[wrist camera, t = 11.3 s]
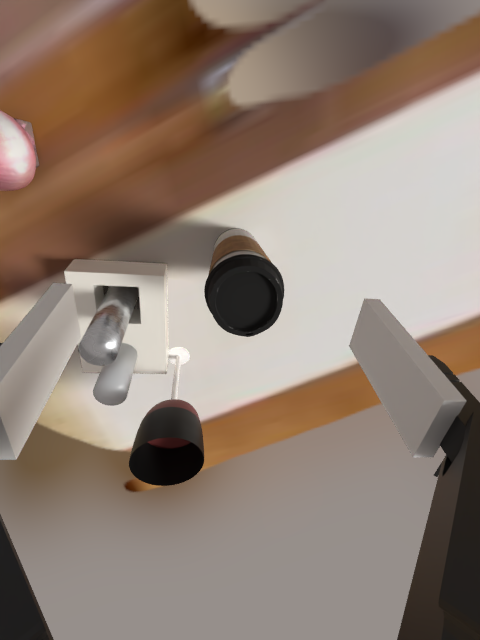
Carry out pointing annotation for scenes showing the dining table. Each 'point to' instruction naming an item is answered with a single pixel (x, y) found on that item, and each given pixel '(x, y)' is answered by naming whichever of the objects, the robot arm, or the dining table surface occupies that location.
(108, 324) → the pipe
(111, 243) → the dining table surface
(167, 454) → the wineglass
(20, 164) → the red onion
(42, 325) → the robot arm
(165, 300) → the socket block
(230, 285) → the coffee cup
